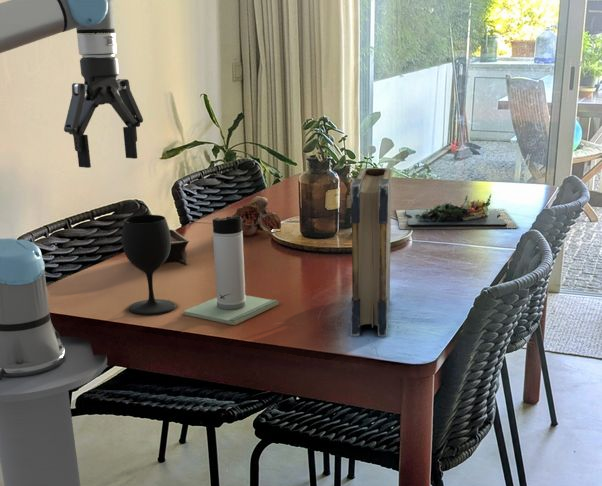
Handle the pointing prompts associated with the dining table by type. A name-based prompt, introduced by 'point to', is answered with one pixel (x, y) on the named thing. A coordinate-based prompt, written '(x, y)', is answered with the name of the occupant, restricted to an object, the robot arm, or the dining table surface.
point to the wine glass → (147, 256)
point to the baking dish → (177, 248)
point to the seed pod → (257, 217)
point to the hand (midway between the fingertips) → (108, 162)
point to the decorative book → (370, 249)
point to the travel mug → (229, 263)
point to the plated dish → (455, 217)
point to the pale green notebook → (232, 317)
